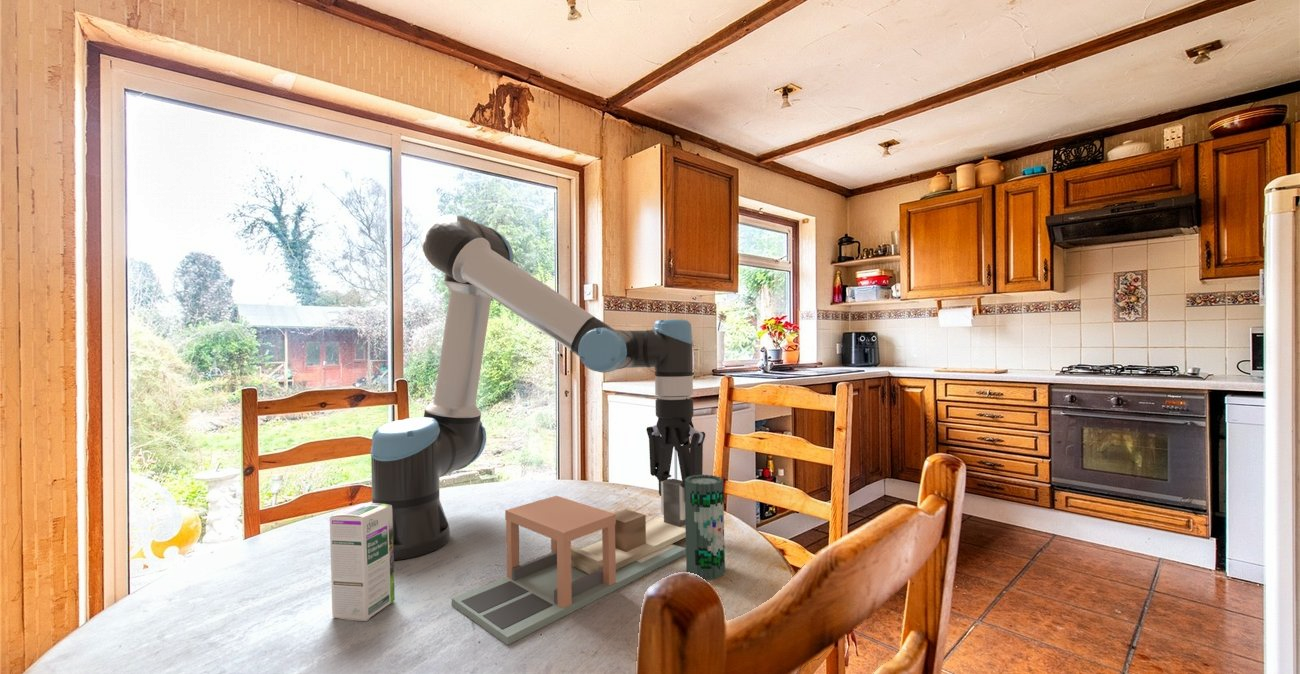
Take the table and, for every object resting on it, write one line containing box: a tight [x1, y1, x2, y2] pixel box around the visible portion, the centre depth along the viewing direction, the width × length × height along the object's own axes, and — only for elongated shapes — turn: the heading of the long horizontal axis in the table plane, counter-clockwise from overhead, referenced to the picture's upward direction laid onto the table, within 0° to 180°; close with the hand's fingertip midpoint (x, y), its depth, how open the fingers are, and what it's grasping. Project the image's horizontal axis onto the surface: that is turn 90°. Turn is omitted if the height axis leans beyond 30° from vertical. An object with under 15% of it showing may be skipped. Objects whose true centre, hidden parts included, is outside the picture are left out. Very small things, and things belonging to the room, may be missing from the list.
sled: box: [571, 478, 686, 574], centre depth 91 cm, size 9×26×9 cm, turn 137°
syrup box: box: [329, 502, 396, 622], centre depth 73 cm, size 6×6×14 cm
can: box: [685, 474, 726, 580], centre depth 83 cm, size 6×6×15 cm
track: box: [451, 495, 686, 646], centre depth 82 cm, size 15×36×12 cm, turn 137°
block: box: [613, 508, 647, 552], centre depth 89 cm, size 5×5×5 cm
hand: (676, 515), depth 100 cm, fingers closed on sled, 4 cm apart
